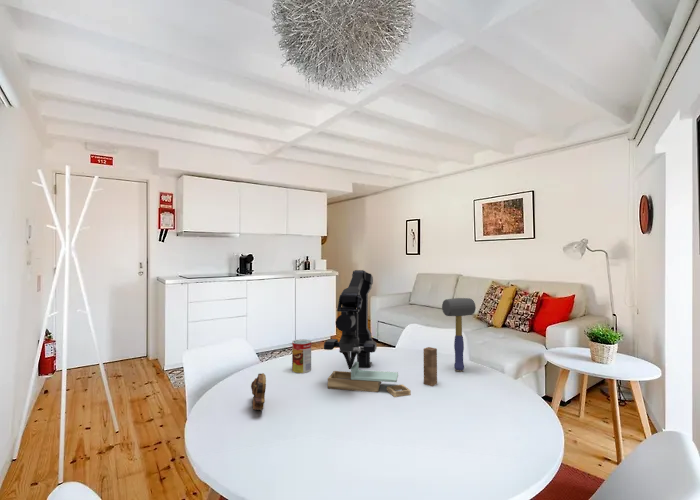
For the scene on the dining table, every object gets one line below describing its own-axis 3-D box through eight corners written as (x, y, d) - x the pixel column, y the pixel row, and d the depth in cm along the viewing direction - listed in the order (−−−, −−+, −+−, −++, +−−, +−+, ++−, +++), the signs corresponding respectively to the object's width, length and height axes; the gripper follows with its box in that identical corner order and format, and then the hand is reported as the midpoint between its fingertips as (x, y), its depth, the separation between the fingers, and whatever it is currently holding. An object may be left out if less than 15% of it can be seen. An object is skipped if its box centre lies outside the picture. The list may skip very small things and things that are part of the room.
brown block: (423, 384, 132) (423, 348, 132) (428, 381, 134) (428, 346, 135) (432, 386, 129) (431, 350, 130) (437, 384, 132) (436, 348, 132)
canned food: (299, 366, 153) (299, 338, 154) (314, 369, 150) (314, 340, 150) (288, 371, 146) (288, 342, 147) (304, 374, 143) (304, 344, 143)
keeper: (386, 390, 125) (386, 386, 125) (402, 388, 127) (402, 384, 127) (394, 397, 120) (394, 392, 120) (410, 394, 121) (410, 390, 122)
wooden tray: (333, 380, 136) (333, 370, 136) (380, 383, 133) (380, 373, 133) (327, 388, 127) (327, 378, 127) (377, 392, 124) (377, 382, 124)
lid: (355, 371, 134) (355, 361, 135) (398, 374, 131) (398, 364, 131) (350, 379, 126) (350, 368, 126) (396, 382, 123) (396, 371, 123)
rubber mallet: (466, 366, 153) (465, 296, 153) (477, 372, 146) (477, 298, 146) (441, 369, 149) (440, 297, 150) (451, 375, 142) (450, 299, 143)
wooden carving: (248, 399, 118) (248, 368, 118) (262, 397, 120) (262, 367, 120) (253, 420, 103) (253, 384, 103) (269, 417, 104) (269, 382, 105)
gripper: (319, 329, 125) (319, 374, 125) (372, 331, 121) (372, 378, 121) (328, 323, 136) (327, 365, 135) (376, 325, 132) (376, 368, 132)
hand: (350, 369), depth 131 cm, fingers closed
